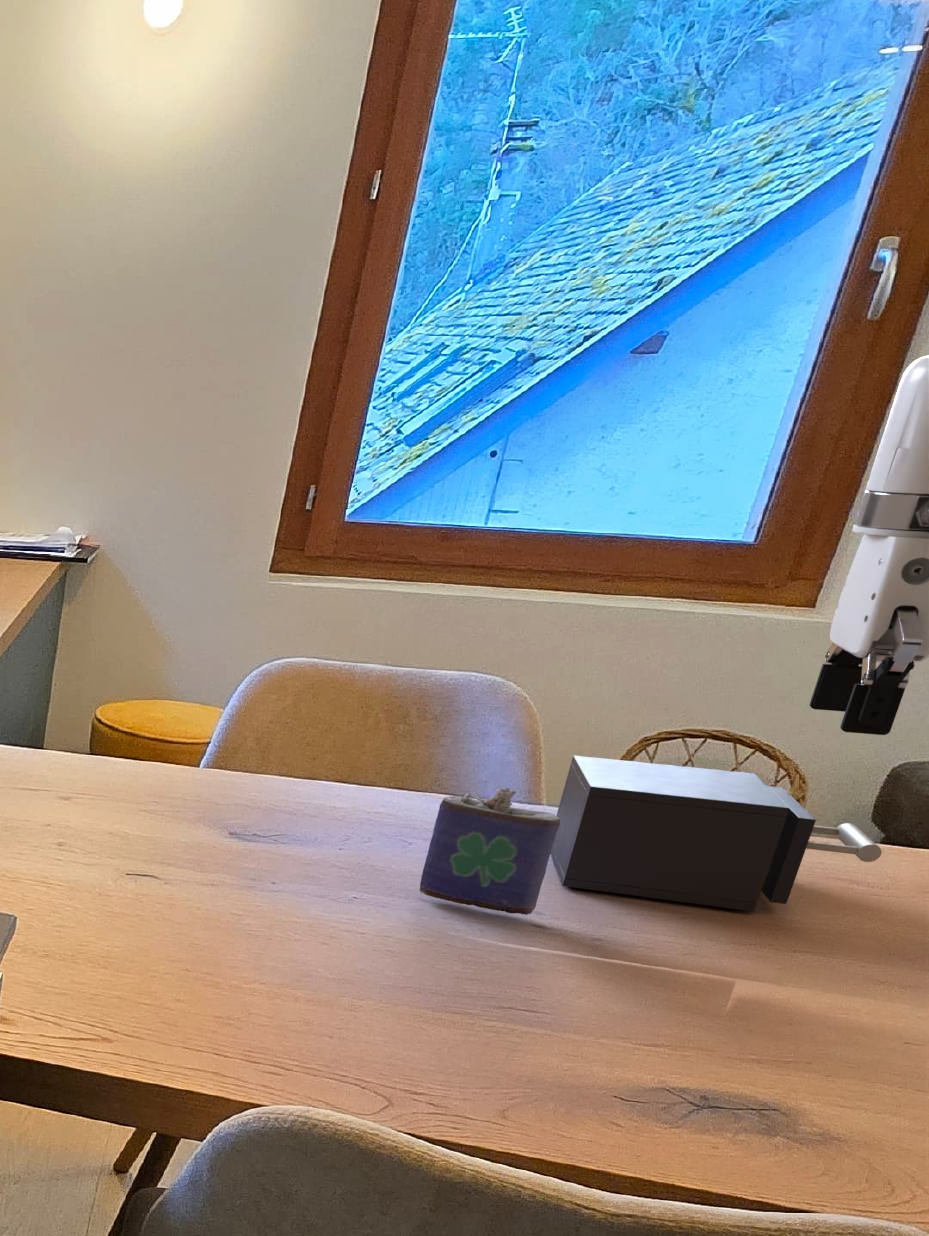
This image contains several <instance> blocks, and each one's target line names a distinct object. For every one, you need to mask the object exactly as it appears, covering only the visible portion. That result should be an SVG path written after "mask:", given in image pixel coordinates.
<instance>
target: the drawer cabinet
mask: <svg viewBox="0 0 929 1236" xmlns="http://www.w3.org/2000/svg"><path fill="white" fill-rule="evenodd" d="M768 786H769V785H767V784H766V783H765V781H763V780H762V779H761V778H760V777H759V776H758V775H757V774H756V773H751V772H742V771H732V770H724V769H723V770H722V769H712V768H701V767H694V766H693V767H692V766H683V765H682V766H681V765H671V764H664V763H663V764H662V763H652V762H642V761H633V760H625V759H624V760H623V759H613V758H605V757H603V758H602V757H593V756H583V755H573V756H572V758H571V761H570V765H569V769H568V773H567V776H566V779H565V783H564V786H563V789H562V794H561V797H560V801H559V805H558V809H557V812H556V814H555V815H556V816H558V817H559V819H560V825H559V828H558V830H557V832H556V837H555V840H554V843H553V846H552V850H551V854H550V856H551V860H552V862H553V866H554V868H555V871H556V873H557V876H558V878H559V880H560V883H561V885H562V887H566V888H567V887H568V888H574V889H582V890H589V891H597V892H604V893H611V894H617V895H618V894H620V895H626V896H635V897H642V898H649V899H656V900H664V901H673V902H678V903H679V902H680V903H685V904H686V903H687V904H693V905H702V906H707V907H708V906H709V907H716V908H723V909H724V908H725V909H732V910H740V911H747V912H755V910H756V907H757V905H758V902H759V898H760V896H761V893H762V891H761V890H762V887H763V884H764V881H765V879H766V876H767V873H768V870H769V867H770V864H771V861H772V858H773V855H774V852H775V850H776V847H777V844H778V841H779V838H780V835H781V832H782V829H783V826H784V823H785V821H786V818H787V817H786V816H787V815H788V812H789V807H788V806H787V805H786V804H785V803H784V802H783V801H782V800H781V799H780V798H779V797H778V796H777V795H776V794H775V793H774V792H773V791H772V790H771V789H770V788H769V787H768Z"/></svg>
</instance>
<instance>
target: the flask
mask: <svg viewBox="0 0 929 1236" xmlns="http://www.w3.org/2000/svg"><path fill="white" fill-rule="evenodd" d="M495 793H496V794H495V796H494V797H489V798H487V799H483V798H482V797H479V796H475V797H474V798H475V799H474V798H473V797H471V794H470V793H466V794H464V795H463V796H460V795H459V796H454V795H453V796H452V795H451V796H445V797H444V798H443V799H442V801H441V803H440V804H439V808H438V812H437V815H436V819H435V823H434V827H433V831H432V836H431V840H430V843H429V846H428V850H427V855H426V857H425V862H424V866H423V869H422V874H421V877H420V882H419V890H418V891H419V893H421V894H424V895H425V896H428V897H431V898H435V899H440V900H442V901H443V900H444V901H447V902H451V903H454V904H458V905H466V906H474V907H477V908H480V909H486V910H487V909H488V910H490V911H498V912H505V913H506V914H507V913H508V914H520V915H526V916H528V915H530V914H532V913H533V912H534V910H535V909H536V907H537V903H538V899H539V895H540V892H541V887H542V884H543V881H544V879H545V876H546V872H547V866H548V863H549V859H550V856H551V850H552V846H553V843H554V840H555V837H556V832H557V830H558V828H559V825H560V819H559V817H558V816H556V815H557V814H554V813H551V812H546V811H539V810H538V811H537V810H532V809H531V810H530V809H525V808H518V807H517V808H515V807H511V806H512V805H513V803H512V802H511V799H512V798H513V796H514V795H516V794H517V791H516V790H515V789H512V788H509V787H505V788H503V787H502V788H496V790H495Z"/></svg>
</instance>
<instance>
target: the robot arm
mask: <svg viewBox="0 0 929 1236" xmlns="http://www.w3.org/2000/svg"><path fill="white" fill-rule="evenodd" d="M853 523H854V524H853V526H852V530H851V532H852V533H856V534H863V535H862V536H863V537H862V539H861V541H860V543H859V546H858V549H857V550H856V552H855V556H854V559H853V561H852V563H851V566H850V568H849V571H848V574H847V577H846V579H845V582H844V584H843V588H842V590H841V593H840V597H839V599H838V601H837V605H836V608H835V611H834V612H835V613H834V615H833V619H832V622H831V627H830V631H829V639H830V641H831V642H832V643H831V645H830V646H829V648H828V649H827V651H826V652H825V655H824V658H823V660H824V661H823V662H824V663H822V664H821V668H820V671H819V674H818V677H817V680H816V683H815V686H814V689H813V693H812V695H811V699H810V701H809V707H810V708H811V709H813V710H817V711H818V710H819V711H831V712H844V714H843V718H842V720H841V722H840V727H839V729H840V730H841V731H843V732H844V733H852V734H862V735H863V734H864V735H876V736H886V735H888V734H890V732H891V730H892V728H893V724H894V722H895V719H896V716H897V713H898V710H899V708H900V705H901V702H902V699H903V696H904V693H905V690H906V688H907V686H908V684H909V682H910V672H911V670H914V668H915V662H923V661H925V660H927V659H928V658H929V355H925V356H921V357H919V358H917V359H915V360H914V361H913V362H911V363H910V364H909V365H908V367H907V368H906V369H905V370H904V372H903V374H902V376H901V378H900V381H899V385H898V387H897V391H896V394H895V397H894V399H893V403H892V406H891V408H890V411H889V415H888V417H887V421H886V425H885V427H884V431H883V433H882V437H881V440H880V443H879V446H878V449H877V452H876V455H875V459H874V461H873V465H872V468H871V471H870V473H869V478H868V481H867V482H866V487H865V490H864V493H863V496H862V499H861V502H860V504H859V508H858V510H857V514H856V517H855V520H854V522H853ZM877 663H879V664H878V666H877Z"/></svg>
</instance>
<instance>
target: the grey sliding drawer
mask: <svg viewBox="0 0 929 1236" xmlns="http://www.w3.org/2000/svg"><path fill="white" fill-rule="evenodd" d="M767 786H768V787H769V788H770V789H771V790H772V791H773V792H774V793H775V794H776V795H777V796H778V797H779V798H780V799H781V800H782V801H783V802H784V803H785V804H786V805H787V806H788V807H789V812H788V815H787V816H786V817H787V818H786V821H785V823H784V826H783V829H782V832H781V835H780V838H779V841H778V844H777V847H776V850H775V852H774V855H773V858H772V861H771V864H770V867H769V870H768V873H767V876H766V879H765V881H764V884H763V887H762V890H761V893H762V894H763V895H764V897H765V898H766V899H767V900H768V901H769V903H773V904H782V905H787V904H788V900H789V899H790V895H791V892H792V889H793V887H794V883H795V881H796V878H797V876H798V872H799V870H800V866H801V865H802V861H803V858H804V855H805V853H806V850H815V851H823V852H832V853H841V854H847V855H848V854H849V855H855V856H856V857H857V858H858V859H859V860H860V861H861V862H864V863H873V862H875V861H877V860H879V858H880V857H881V855H882V849H881V847H880V846H879V845H877V844H876V843H875V842H874V841H873V840H872V839H871V838H870V837H869V836H868V835H866V834H865V832H863V831H862V830H861V829H860V828H859V827H858V826H857V825H855V824H854V823H850V822H846V823H842V824H839V825H838V826H837V827H833V826H825V825H815V824H816V821H817V820H816V818H815V817H814V816H813V815H812V814H811V813H810V812H808V811H807V809H806V808H804V806H802V804H800V803H799V802H798V800H796V799H795V798H794V797H793V795H791V794H790V793H789V792H788V791H787V790H786V789H785V788H784V787H782V786H772V785H767ZM812 834H818V835H829V836H835V837H836V838H837V839H838V840H839V841H840V842H841V843H842V844H839V843H831V842H822V841H813V840H810V838H811V836H812Z"/></svg>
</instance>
